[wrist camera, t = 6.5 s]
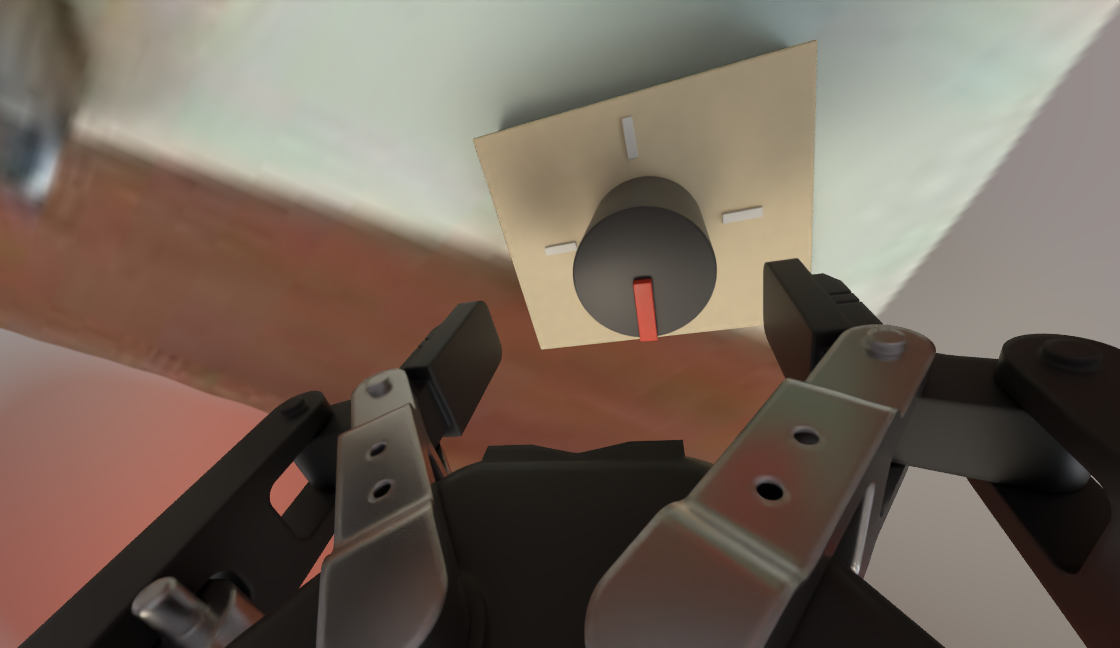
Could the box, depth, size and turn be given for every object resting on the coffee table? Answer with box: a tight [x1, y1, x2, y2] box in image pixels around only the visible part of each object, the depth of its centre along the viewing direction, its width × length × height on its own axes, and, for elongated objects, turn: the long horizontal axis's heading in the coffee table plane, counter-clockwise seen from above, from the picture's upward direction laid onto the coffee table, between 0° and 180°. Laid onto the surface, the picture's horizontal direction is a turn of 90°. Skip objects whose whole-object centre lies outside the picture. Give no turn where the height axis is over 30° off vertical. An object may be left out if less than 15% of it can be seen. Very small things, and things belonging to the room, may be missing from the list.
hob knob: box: [573, 176, 717, 342], centre depth 14 cm, size 4×4×5 cm
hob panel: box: [473, 40, 817, 349], centre depth 18 cm, size 12×10×3 cm
